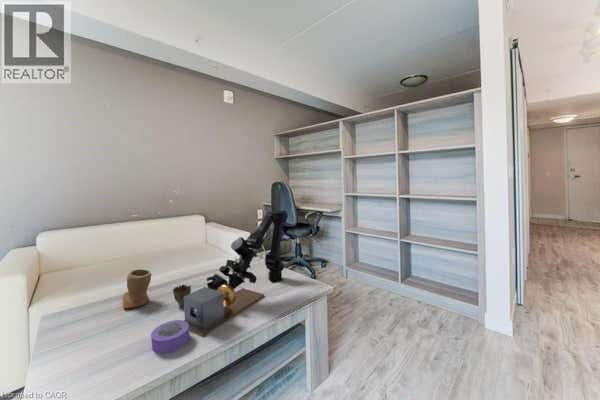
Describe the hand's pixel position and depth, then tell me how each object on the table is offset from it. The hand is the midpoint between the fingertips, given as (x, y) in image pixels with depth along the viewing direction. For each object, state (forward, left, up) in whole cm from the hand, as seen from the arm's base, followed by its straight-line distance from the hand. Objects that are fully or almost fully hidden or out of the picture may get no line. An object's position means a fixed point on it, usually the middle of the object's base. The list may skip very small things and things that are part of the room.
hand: (228, 292), depth 112 cm
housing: (+1, +1, -7) cm, 7 cm away
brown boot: (+35, -28, -8) cm, 46 cm away
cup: (+17, -14, -7) cm, 23 cm away
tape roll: (+24, +13, -8) cm, 28 cm away
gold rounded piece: (+8, +4, -5) cm, 10 cm away
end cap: (0, -22, -8) cm, 23 cm away
